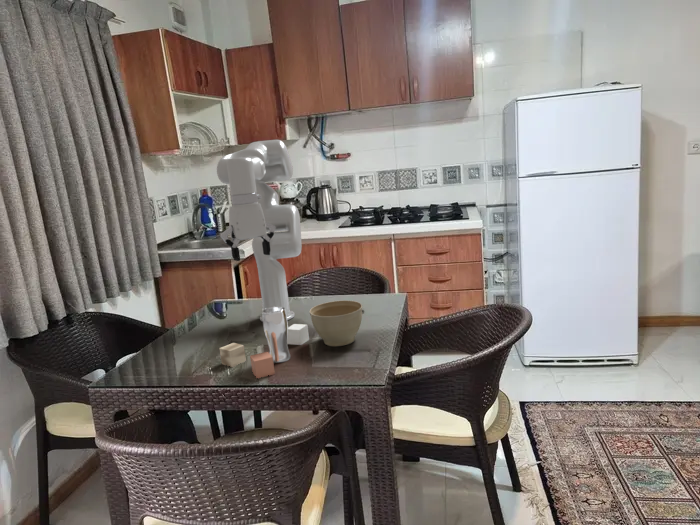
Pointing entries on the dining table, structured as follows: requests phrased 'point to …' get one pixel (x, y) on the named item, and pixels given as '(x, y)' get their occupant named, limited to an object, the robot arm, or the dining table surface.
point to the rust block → (262, 364)
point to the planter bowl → (337, 321)
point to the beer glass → (276, 332)
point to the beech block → (232, 354)
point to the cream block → (297, 334)
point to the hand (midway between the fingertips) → (252, 257)
